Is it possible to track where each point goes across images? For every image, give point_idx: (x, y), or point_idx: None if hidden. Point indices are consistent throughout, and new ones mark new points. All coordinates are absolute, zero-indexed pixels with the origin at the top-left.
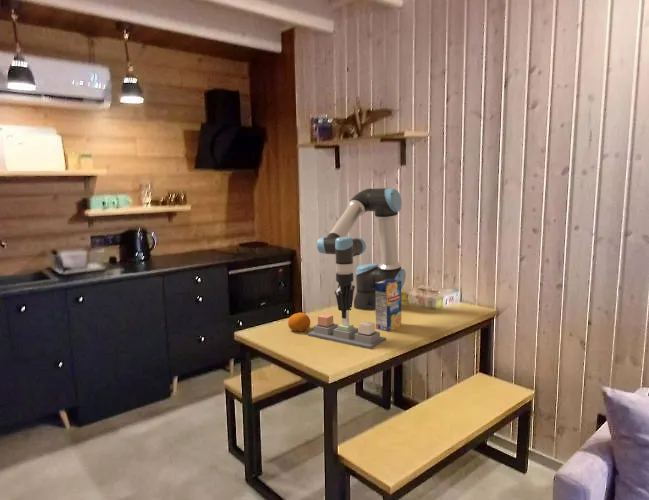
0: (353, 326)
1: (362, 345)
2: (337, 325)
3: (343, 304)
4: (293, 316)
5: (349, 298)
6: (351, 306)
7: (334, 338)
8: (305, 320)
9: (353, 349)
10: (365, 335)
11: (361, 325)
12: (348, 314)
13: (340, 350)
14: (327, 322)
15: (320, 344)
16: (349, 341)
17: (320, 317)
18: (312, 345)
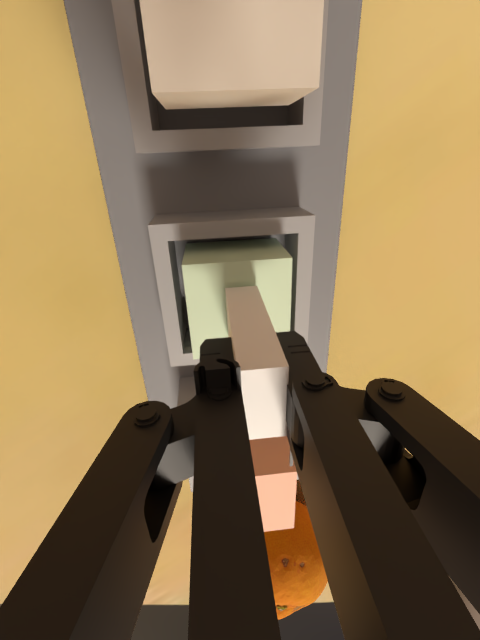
0: (183, 259)
1: (358, 9)
2: (183, 399)
3: (461, 471)
4: (313, 600)
5: (204, 605)
6: (149, 411)
7: (326, 302)
8: (287, 543)
9: (414, 69)
10: (158, 124)
11: (319, 38)
12: (243, 340)
13: (462, 151)
14: (279, 441)
15: (403, 324)
16: (333, 174)
17: (293, 508)
18: (433, 347)
